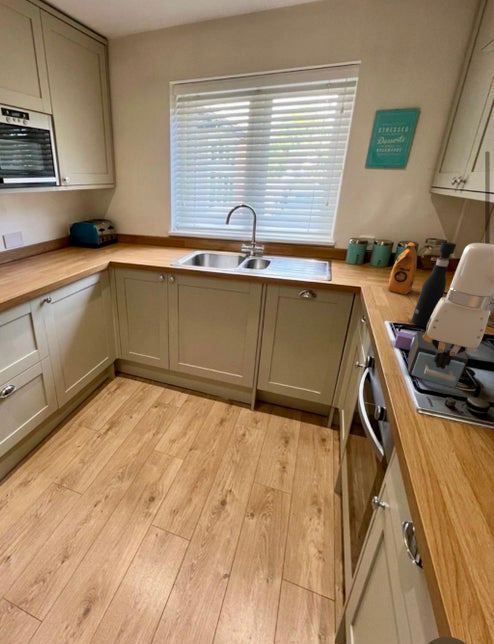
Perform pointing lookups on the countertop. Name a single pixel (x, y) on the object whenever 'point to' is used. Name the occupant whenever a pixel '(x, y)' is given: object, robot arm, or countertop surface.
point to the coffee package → (404, 271)
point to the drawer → (437, 369)
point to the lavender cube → (403, 340)
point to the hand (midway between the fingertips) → (439, 365)
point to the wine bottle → (433, 287)
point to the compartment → (426, 346)
